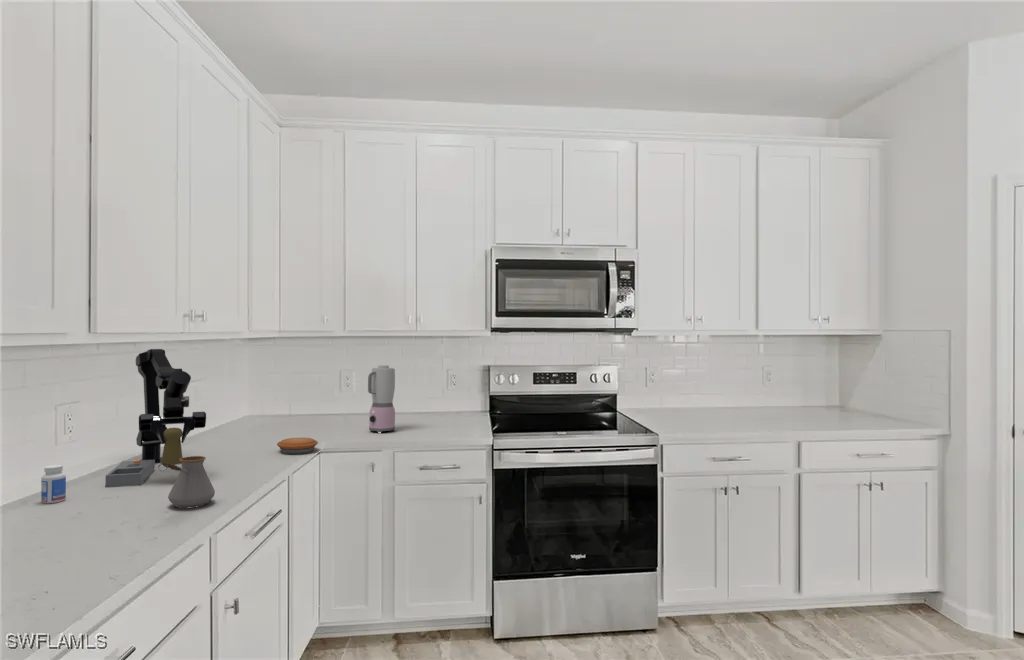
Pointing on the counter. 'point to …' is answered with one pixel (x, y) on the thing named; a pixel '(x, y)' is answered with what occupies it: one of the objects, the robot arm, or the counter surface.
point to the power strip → (130, 473)
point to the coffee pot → (190, 483)
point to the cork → (172, 446)
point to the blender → (382, 398)
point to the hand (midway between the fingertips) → (172, 442)
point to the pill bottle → (53, 484)
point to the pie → (297, 445)
